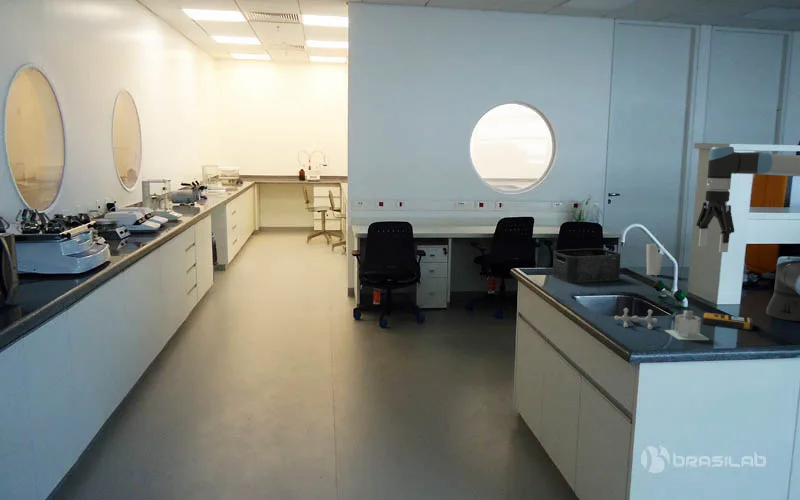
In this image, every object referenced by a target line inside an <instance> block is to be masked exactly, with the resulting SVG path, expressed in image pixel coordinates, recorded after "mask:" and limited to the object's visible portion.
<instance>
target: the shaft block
mask: <svg viewBox="0 0 800 500" xmlns="http://www.w3.org/2000/svg"><path fill="white" fill-rule="evenodd" d="M683 314H684V316H683V318H686V319H693V316H694V311H693V310H688V309H687V310H683ZM664 332H666V333H667V334H668V335H670V336H672V337H673V338H675V339H677V340H678V341H710V338H708V337H707V336H705V335H703V334H701V333H700V335H699V336H698V337H697V338H687V337H682V336H678V335H676V334H675V333H674V329H664Z"/></svg>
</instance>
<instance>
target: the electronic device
mask: <svg viewBox="0 0 800 500" xmlns="http://www.w3.org/2000/svg"><path fill="white" fill-rule="evenodd" d="M701 324H703V325H709V326H717V327H724V328H726V327H727V328H732V329H739V330H740V329H741V330H749V331H753V326H754V322H753V318H752V317H744V316H738V315H737V316H736V315H729V314H721V313H720V314H719V313H711V312H704V313H703V314H702V319H701Z"/></svg>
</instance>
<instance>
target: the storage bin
mask: <svg viewBox="0 0 800 500" xmlns="http://www.w3.org/2000/svg"><path fill="white" fill-rule="evenodd" d="M621 257H622V256H621V253H620V252H617V251H612V250H609V249H606V248H599V247H597V248H595V247H594V248H578V249H577V248H574V249H557V250H553V259H552V260H553V263H552V277H554V278H556V279H559V280H561V281H563V282H566V283H569V284H584V283H601V282H602V283H603V282H616V281H619V280H620V274H621V273H620V272H621V271H620V270H621Z"/></svg>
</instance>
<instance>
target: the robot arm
mask: <svg viewBox="0 0 800 500" xmlns="http://www.w3.org/2000/svg"><path fill="white" fill-rule="evenodd" d="M734 174H740V175H742V174H743V175H744V174H745V175H747V174H748V175H769V176H771V175H772V176H782V177H783V176H787V177H788V176H789V177H800V155H799V154H798V155H796V154H776V153H773V154H772V153H770V152H764V151H763V152H762V151H759V152H757V151H754V152H753V151H750V152H749V151H748V152H741V151H740V152H739V151H735V148H734V146H712V147H710V149H709V156H708V168H707V177H706V178H707V180H706V189H707V190H706V191H705V197H704V199H705V201H704V202H703V203H702V207H701V211H700V213H699V216H698V219H697V221H696V224H695V225H696V226H697V227H698V229H699V235H698V236H699V237H698V247H707V245H708V236H709V235H708V233H709V225H710V223H711V222H712V220H713V218H716V219H717V222H718V225H719V227H720V236H719V247H718V253H728V251H729V244H730V243H729V242H730V235H731V234H733V233H735V227H734V222H733V221H734V220H733V216H732V206H731V204H726V203H728V202H729V201H730V196H731V194H730V193H731V192H730V190H731V185H732V184H731V182H732V175H734ZM765 313H766V315H767V316H769V317H772V318H774V319H775V318H776V319H780V320H785V321H793V322H800V256H784V255H783V256H779V257H778V258H777V263H776V270H775V281H774V290H773V295H772V297H771V299H770V301H769V302H768V305H767V306H766V312H765Z"/></svg>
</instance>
